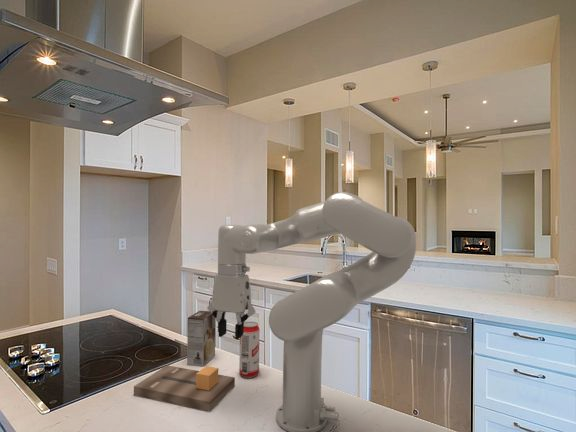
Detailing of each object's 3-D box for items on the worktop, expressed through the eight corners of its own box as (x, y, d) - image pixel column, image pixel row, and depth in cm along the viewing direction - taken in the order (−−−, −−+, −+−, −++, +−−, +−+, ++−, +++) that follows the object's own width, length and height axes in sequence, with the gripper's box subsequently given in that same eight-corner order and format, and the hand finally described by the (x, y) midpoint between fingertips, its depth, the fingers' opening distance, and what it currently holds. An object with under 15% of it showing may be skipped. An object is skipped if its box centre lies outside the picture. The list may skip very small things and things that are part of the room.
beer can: (235, 377, 103) (236, 325, 103) (244, 368, 109) (245, 320, 109) (254, 380, 101) (254, 328, 101) (262, 371, 107) (262, 322, 107)
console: (234, 385, 97) (234, 377, 97) (209, 411, 84) (209, 401, 84) (166, 373, 105) (166, 364, 105) (133, 395, 91) (133, 385, 91)
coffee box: (199, 354, 120) (199, 310, 120) (215, 355, 118) (216, 311, 119) (186, 365, 111) (187, 317, 111) (203, 367, 109) (204, 318, 110)
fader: (218, 382, 94) (218, 368, 94) (208, 390, 89) (209, 375, 89) (205, 379, 95) (206, 365, 95) (196, 388, 90) (196, 373, 90)
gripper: (265, 269, 91) (264, 335, 91) (211, 266, 97) (210, 328, 96) (254, 273, 84) (253, 345, 84) (197, 269, 89) (196, 337, 89)
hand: (230, 335), depth 90 cm, fingers open, 4 cm apart
